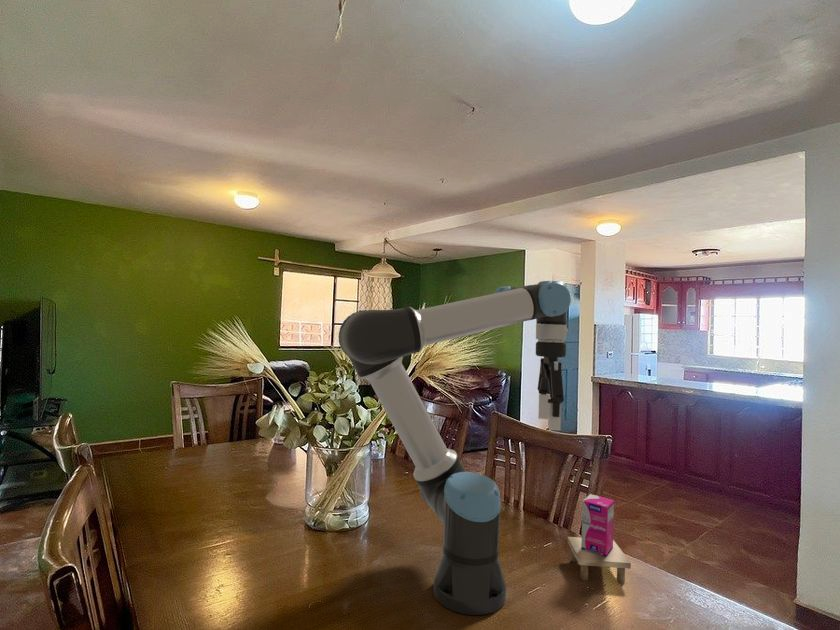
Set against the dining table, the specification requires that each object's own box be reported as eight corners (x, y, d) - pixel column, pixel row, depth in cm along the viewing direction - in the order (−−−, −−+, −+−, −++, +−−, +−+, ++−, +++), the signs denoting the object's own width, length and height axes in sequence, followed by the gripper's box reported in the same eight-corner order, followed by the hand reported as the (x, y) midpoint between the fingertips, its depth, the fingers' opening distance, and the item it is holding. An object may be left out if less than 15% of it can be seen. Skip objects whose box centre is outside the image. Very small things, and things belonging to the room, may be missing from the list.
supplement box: (580, 549, 105) (581, 500, 106) (588, 540, 110) (589, 493, 110) (606, 558, 102) (607, 506, 102) (613, 548, 106) (614, 499, 107)
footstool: (579, 582, 101) (579, 559, 101) (567, 557, 112) (567, 536, 112) (630, 586, 100) (630, 563, 100) (613, 560, 111) (613, 539, 111)
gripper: (578, 343, 104) (576, 436, 103) (555, 340, 129) (553, 415, 128) (545, 342, 105) (543, 434, 104) (528, 339, 129) (526, 414, 129)
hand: (548, 424), depth 116 cm, fingers open, 13 cm apart
